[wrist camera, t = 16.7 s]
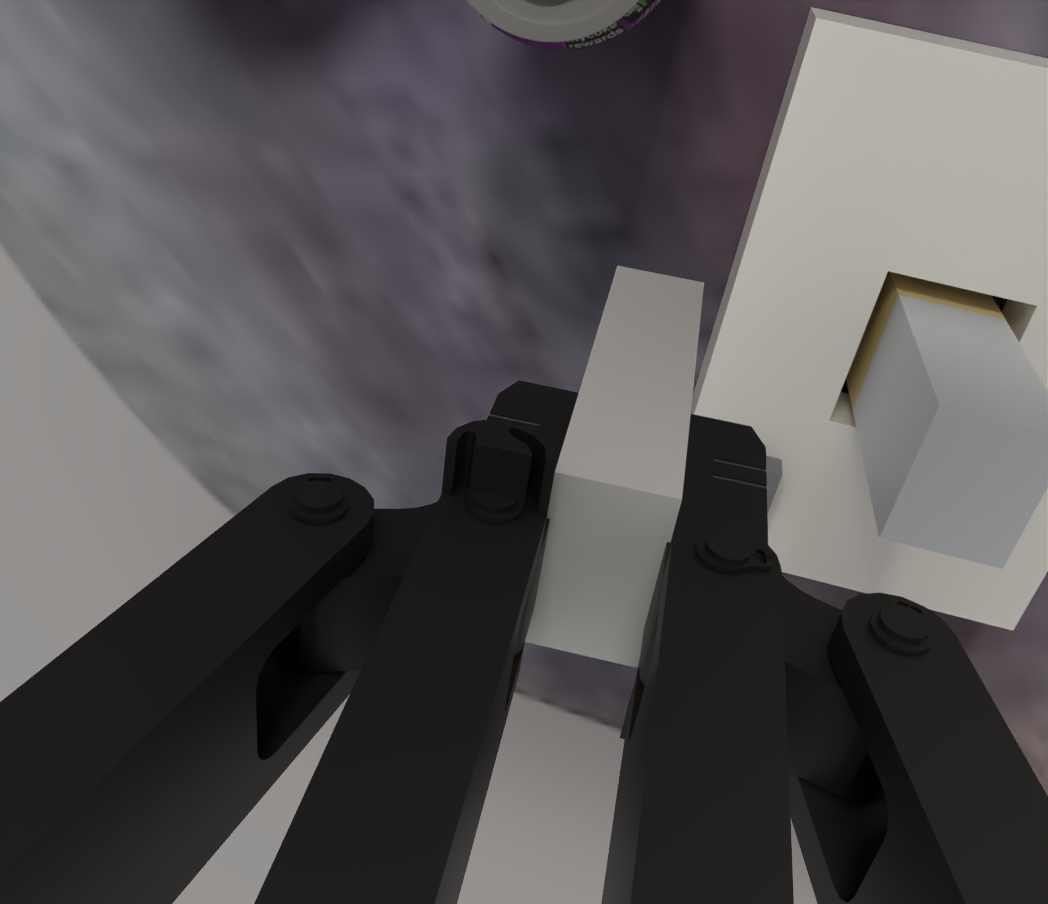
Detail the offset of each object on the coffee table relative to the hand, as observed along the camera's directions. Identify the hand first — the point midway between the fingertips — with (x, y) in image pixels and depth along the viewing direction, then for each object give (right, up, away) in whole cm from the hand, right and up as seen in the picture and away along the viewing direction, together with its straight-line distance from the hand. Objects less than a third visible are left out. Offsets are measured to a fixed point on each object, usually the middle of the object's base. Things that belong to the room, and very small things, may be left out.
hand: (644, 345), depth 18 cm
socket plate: (+14, +3, +24) cm, 27 cm away
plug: (+14, +3, +24) cm, 27 cm away
